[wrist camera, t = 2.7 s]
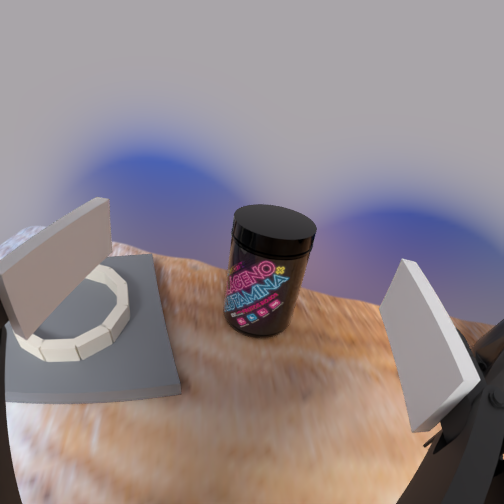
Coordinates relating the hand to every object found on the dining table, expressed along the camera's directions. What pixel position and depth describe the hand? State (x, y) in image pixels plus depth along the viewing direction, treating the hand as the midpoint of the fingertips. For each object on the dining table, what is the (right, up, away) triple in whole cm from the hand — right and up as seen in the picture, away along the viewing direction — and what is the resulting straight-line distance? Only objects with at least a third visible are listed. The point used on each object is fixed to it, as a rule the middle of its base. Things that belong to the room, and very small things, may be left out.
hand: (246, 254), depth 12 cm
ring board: (-17, -7, +11) cm, 21 cm away
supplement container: (+1, -7, +16) cm, 18 cm away
